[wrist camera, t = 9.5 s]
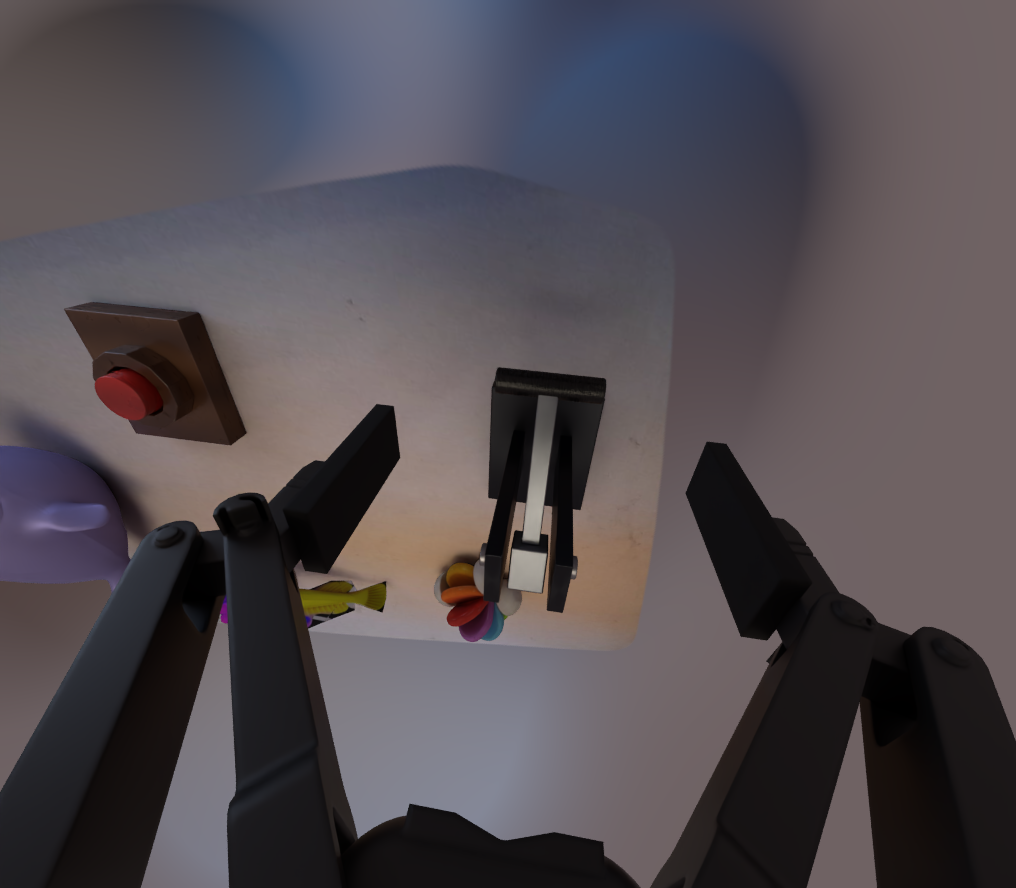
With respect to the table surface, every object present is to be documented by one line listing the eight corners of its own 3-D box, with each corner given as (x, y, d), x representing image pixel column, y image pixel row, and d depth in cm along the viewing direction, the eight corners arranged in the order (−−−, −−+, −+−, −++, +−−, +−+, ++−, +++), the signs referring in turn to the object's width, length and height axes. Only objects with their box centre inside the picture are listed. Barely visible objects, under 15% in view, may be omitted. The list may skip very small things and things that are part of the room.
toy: (223, 532, 46) (175, 609, 38) (389, 529, 49) (376, 599, 41) (250, 590, 53) (214, 666, 45) (394, 585, 56) (385, 655, 48)
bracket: (494, 380, 32) (447, 500, 20) (603, 391, 31) (625, 523, 19) (490, 489, 39) (453, 629, 26) (580, 501, 38) (585, 650, 26)
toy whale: (24, 411, 35) (-255, 556, 26) (217, 557, 52) (89, 679, 42) (-12, 398, 42) (-247, 510, 32) (170, 532, 58) (50, 633, 48)
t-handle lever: (500, 366, 23) (494, 368, 20) (602, 377, 22) (609, 380, 20) (482, 563, 26) (476, 584, 24) (572, 576, 25) (574, 599, 23)
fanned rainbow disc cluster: (485, 543, 43) (471, 600, 37) (532, 592, 47) (527, 651, 41) (430, 565, 47) (409, 620, 41) (478, 609, 50) (466, 665, 44)
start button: (106, 365, 32) (84, 374, 30) (150, 370, 32) (130, 379, 30) (130, 407, 34) (111, 417, 33) (171, 413, 34) (153, 423, 32)
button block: (91, 302, 33) (37, 314, 30) (199, 312, 32) (156, 327, 29) (155, 422, 40) (118, 443, 36) (246, 433, 39) (216, 456, 36)
